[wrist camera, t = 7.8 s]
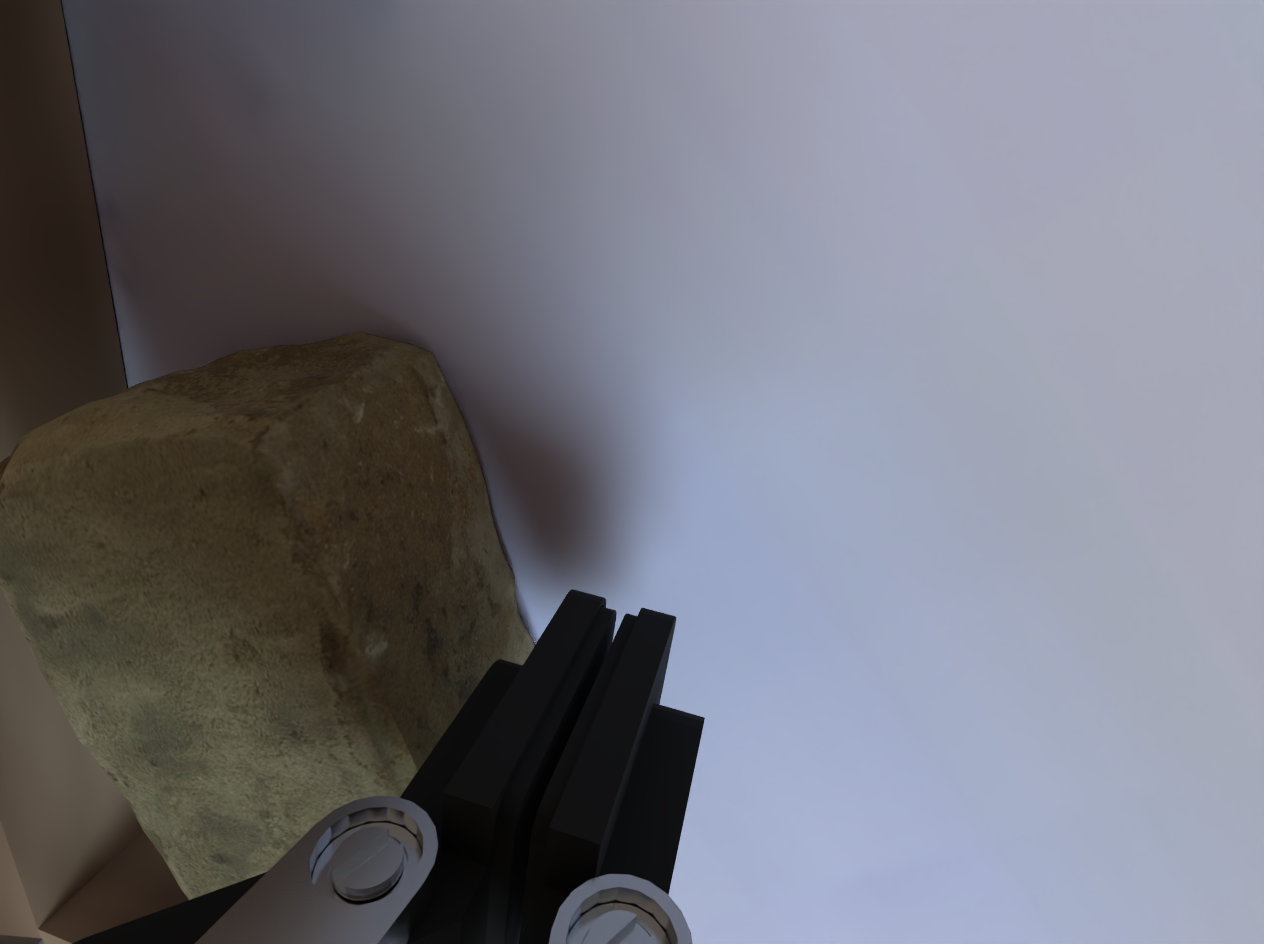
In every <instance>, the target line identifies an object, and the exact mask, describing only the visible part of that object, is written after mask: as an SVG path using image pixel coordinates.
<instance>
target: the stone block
mask: <svg viewBox="0 0 1264 944" xmlns="http://www.w3.org/2000/svg"><path fill="white" fill-rule="evenodd" d="M0 587H1V589H2V591H3V593H4V596H5V598H6V600H7V602H8V604H9V606H10V608H11V610H12V612H13V614H14V617H15V619H16V621H17V623H18V625H19V627H20V629H21V631H22V632H23V634H24V636H25V638H26V639H27V641H28V643H29V645H30V648H31V651H32V654H33V657H34V660H35V662H36V664H37V666H38V667H39V669H40V671H41V672H42V674H43V676H44V678H45V679H46V681H47V683H48V684H49V686H50V688H51V690H52V691H53V693H54V695H55V696H56V698H57V700H58V702H59V703H60V705H61V707H62V709H63V711H64V713H65V715H66V717H67V719H68V720H69V722H70V724H71V726H72V728H73V730H74V732H75V734H76V736H77V737H78V739H79V741H80V742H81V743H82V744H83V745H84V746H85V748H86V749H87V750H88V751H89V752H90V753H91V755H92V756H93V757H94V758H95V759H96V760H97V762H98V763H99V764H100V765H101V766H102V768H103V769H104V770H105V771H106V773H107V774H108V775H109V777H110V778H111V779H112V781H113V782H114V783H115V785H116V786H117V787H118V789H119V790H120V791H121V793H122V794H123V796H124V797H125V798H126V800H127V801H128V803H129V805H130V807H131V809H132V811H133V812H134V814H135V816H136V818H137V820H138V822H139V823H140V825H141V827H142V829H143V831H144V832H145V834H146V835H147V836H148V838H149V839H150V841H151V842H152V843H153V845H154V846H155V848H156V849H157V850H158V852H159V853H160V854H161V856H162V857H163V859H164V860H165V862H166V864H167V866H168V867H169V869H170V871H171V873H172V874H173V876H174V878H175V879H176V881H177V883H178V885H179V886H180V888H181V889H182V891H183V892H184V893H185V895H186V896H187V898H188V899H189V900H191V899H193V898H196V897H199V896H202V895H204V894H207V893H210V892H213V891H215V890H218V889H221V888H224V887H227V886H229V885H232V884H235V883H238V882H240V881H243V880H246V879H249V878H251V877H254V876H257V875H260V874H262V873H265V872H268V871H269V870H270V869H271V868H272V867H273V866H274V865H275V864H276V863H277V862H278V861H279V860H280V859H281V858H282V857H283V856H284V855H285V854H286V853H287V852H288V851H289V850H290V849H291V848H292V847H293V846H294V845H295V844H296V843H297V842H298V841H299V840H300V839H301V838H302V837H303V836H304V835H305V834H306V833H307V832H308V831H309V830H310V829H311V828H312V827H313V826H314V825H315V824H316V823H318V822H319V821H320V820H322V819H323V818H324V817H325V816H327V815H328V814H329V813H331V812H332V811H333V810H335V809H337V808H339V807H341V806H343V805H345V804H347V803H350V802H352V801H354V800H358V799H362V798H367V797H372V796H396V797H399V798H400V796H401V795H402V793H403V792H404V790H405V789H406V788H407V786H408V785H409V783H410V782H411V780H412V779H413V777H414V776H415V775H416V773H417V772H418V770H419V769H420V767H421V766H422V765H423V763H424V762H425V760H426V759H427V757H428V756H429V754H430V753H431V752H432V750H433V749H434V747H435V746H436V744H437V743H438V741H439V740H440V739H441V737H442V736H443V734H444V733H445V731H446V730H447V728H448V727H449V726H450V724H451V723H452V721H453V720H454V718H455V717H456V715H457V714H458V713H459V711H460V710H461V708H462V707H463V705H464V704H465V703H466V701H467V700H468V698H469V697H470V695H471V694H472V692H473V691H474V690H475V688H476V687H477V685H478V684H479V682H480V681H481V679H482V678H483V677H484V675H485V674H486V672H487V671H488V669H489V668H490V667H491V666H492V664H493V663H494V662H495V661H497V660H499V659H502V660H505V661H509V662H512V663H516V664H519V665H523V664H524V663H525V661H526V659H527V658H528V656H529V655H530V653H531V651H532V650H533V648H534V647H535V645H534V643H533V640H532V638H531V636H530V635H529V633H528V631H527V629H526V627H525V625H524V624H523V622H522V620H521V617H520V615H519V613H518V610H517V600H516V585H515V577H514V574H513V572H512V570H511V568H510V566H509V565H508V563H507V561H506V559H505V557H504V555H503V552H502V550H501V546H500V543H499V540H498V536H497V533H496V529H495V526H494V522H493V519H492V515H491V509H490V504H489V499H488V494H487V489H486V484H485V481H484V478H483V474H482V471H481V468H480V465H479V462H478V458H477V455H476V452H475V449H474V446H473V444H472V441H471V439H470V436H469V433H468V431H467V428H466V426H465V423H464V420H463V418H462V415H461V413H460V411H459V409H458V407H457V404H456V402H455V400H454V398H453V396H452V394H451V392H450V390H449V387H448V385H447V383H446V381H445V379H444V377H443V375H442V372H441V370H440V368H439V366H438V364H437V362H436V359H435V357H434V355H433V353H432V352H429V351H427V350H424V349H422V348H419V347H416V346H414V345H411V344H409V343H404V342H400V341H395V340H391V339H386V338H382V337H377V336H373V335H369V334H365V333H361V332H356V333H351V334H347V335H343V336H339V337H336V338H332V339H329V340H325V341H321V342H316V343H310V344H304V345H280V346H276V347H271V348H262V349H249V350H245V351H241V352H237V353H234V354H231V355H229V356H226V357H223V358H220V359H218V360H216V361H214V362H212V363H210V364H208V365H206V366H204V367H201V368H199V369H195V370H185V371H177V372H174V373H171V374H169V375H166V376H163V377H160V378H157V379H154V380H150V381H147V382H143V383H140V384H137V385H135V386H132V387H130V388H127V389H125V390H123V391H122V392H120V393H119V394H117V395H115V396H112V397H108V398H104V399H101V400H97V401H93V402H89V403H87V404H85V405H83V406H81V407H79V408H76V409H74V410H72V411H70V412H68V413H66V414H64V415H62V416H60V417H58V418H56V419H54V420H52V421H50V422H48V423H46V424H44V425H42V426H39V427H37V428H35V429H34V430H32V431H31V432H29V433H28V434H26V435H24V436H23V437H21V438H20V439H19V440H18V442H17V444H16V446H15V448H14V449H13V451H12V453H11V455H10V456H8V457H7V458H6V459H4V460H3V461H2V462H0Z"/></svg>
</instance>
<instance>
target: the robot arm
mask: <svg viewBox="0 0 1264 944" xmlns="http://www.w3.org/2000/svg"><path fill="white" fill-rule="evenodd" d="M615 621H616V611H615V610H612V609H608V608H606V599H605V598H603V597H600V596H596V595H592V594H588V593H584V592H581V591H577V590H573V589H572V590H570V591H569V592H568V594H567V595H566V597H565V599H564V600H563V602H562V603H561V605H560V607H559V608H558V610H557V611H556V613H555V615H554V616H553V618H552V619H551V621H550V623H549V624H548V626H547V627H546V629H545V631H544V632H543V634H542V635H541V637H540V639H539V640H538V642H537V643H536V645H535V647H534V648H533V650H532V651H531V653H530V655H529V656H528V658H527V659H526V661H525V663H524V664H523V665H519V664H516V663H512V662H509V661H505V660H502V659H499V660H497V661H495V662H494V663H493V664H492V666H491V667H490V668H489V669H488V671H487V672H486V674H485V675H484V677H483V678H482V679H481V681H480V682H479V684H478V685H477V687H476V688H475V690H474V691H473V692H472V694H471V695H470V697H469V698H468V700H467V701H466V703H465V704H464V705H463V707H462V708H461V710H460V711H459V713H458V714H457V715H456V717H455V718H454V720H453V721H452V723H451V724H450V726H449V727H448V728H447V730H446V731H445V733H444V734H443V736H442V737H441V739H440V740H439V741H438V743H437V744H436V746H435V747H434V749H433V750H432V752H431V753H430V754H429V756H428V757H427V759H426V760H425V762H424V763H423V765H422V766H421V767H420V769H419V770H418V772H417V773H416V775H415V776H414V777H413V779H412V780H411V782H410V783H409V785H408V786H407V788H406V789H405V790H404V792H403V793H402V795H401V796H400V798H399V797H396V796H372V797H367V798H362V799H358V800H354V801H352V802H350V803H347V804H345V805H343V806H341V807H339V808H337V809H335V810H333V811H332V812H331V813H329V814H328V815H327V816H325V817H324V818H323V819H322V820H320V821H319V822H318V823H316V824H315V825H314V826H313V827H312V828H311V829H310V830H309V831H308V832H307V833H306V834H305V835H304V836H303V837H302V838H301V839H300V840H299V841H298V842H297V843H296V844H295V845H294V846H293V847H292V848H291V849H290V850H289V851H288V852H287V853H286V854H285V855H284V856H283V857H282V858H281V859H280V860H279V861H278V862H277V863H276V864H275V865H274V866H273V867H272V868H271V869H270V870H269V871H268V872H265V873H262V874H260V875H257V876H254V877H251V878H249V879H246V880H243V881H240V882H238V883H235V884H232V885H229V886H227V887H224V888H221V889H218V890H215V891H213V892H210V893H207V894H204V895H202V896H199V897H196V898H193V899H191V900H188V901H185V902H182V903H179V904H177V905H174V906H171V907H168V908H166V909H163V910H160V911H157V912H155V913H152V914H149V915H146V916H144V917H141V918H138V919H135V920H132V921H130V922H127V923H124V924H121V925H119V926H116V927H113V928H110V929H108V930H105V931H102V932H99V933H96V934H94V935H91V936H88V937H85V938H83V939H81V940H79V941H77V942H74V943H72V944H692V937H691V932H690V929H689V927H688V925H687V923H686V920H685V918H684V916H683V914H682V911H681V910H680V909H679V908H678V906H677V905H676V904H675V903H674V901H673V900H672V899H671V898H670V897H669V895H668V894H669V889H670V884H671V879H672V874H673V870H674V865H675V860H676V855H677V850H678V845H679V841H680V836H681V831H682V826H683V821H684V816H685V811H686V807H687V802H688V797H689V792H690V787H691V782H692V778H693V773H694V768H695V763H696V758H697V753H698V748H699V744H700V739H701V734H702V729H703V724H704V719H705V718H704V717H700V716H697V715H693V714H690V713H686V712H683V711H679V710H676V709H672V708H669V707H666V706H662V705H659V704H660V699H661V694H662V689H663V684H664V679H665V674H666V669H667V664H668V659H669V653H670V648H671V643H672V638H673V633H674V628H675V623H676V617H675V616H672V615H668V614H664V613H660V612H656V611H653V610H649V609H645V608H641V610H640V612H639V614H638V616H634V615H630V614H625V616H624V618H623V620H622V623H621V625H620V627H619V629H618V631H617V634H616V636H615V638H614V640H613V634H614V628H615ZM612 641H613V642H612ZM0 944H44V941H43V938H31V937H20V936H8V935H0Z"/></svg>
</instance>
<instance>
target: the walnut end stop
mask: <svg viewBox="0 0 1264 944" xmlns="http://www.w3.org/2000/svg"><path fill="white" fill-rule="evenodd" d="M125 389H127V384H126V378H125V373H124V367H123V361H122V355H121V349H120V344H119V338H118V332H117V326H116V320H115V314H114V309H113V303H112V297H111V291H110V285H109V280H108V274H107V268H106V262H105V256H104V250H103V245H102V239H101V233H100V227H99V221H98V216H97V210H96V204H95V198H94V192H93V187H92V181H91V175H90V169H89V163H88V157H87V152H86V146H85V140H84V134H83V128H82V123H81V117H80V111H79V105H78V99H77V93H76V88H75V82H74V76H73V70H72V64H71V59H70V53H69V47H68V41H67V35H66V30H65V24H64V18H63V12H62V6H61V0H0V462H2V461H3V460H4V459H6V458H7V457H8V456H10V455H11V453H12V451H13V449H14V448H15V446H16V444H17V442H18V440H19V439H20V438H21V437H23V436H24V435H26V434H28V433H29V432H31V431H32V430H34V429H35V428H37V427H39V426H42V425H44V424H46V423H48V422H50V421H52V420H54V419H56V418H58V417H60V416H62V415H64V414H66V413H68V412H70V411H72V410H74V409H76V408H79V407H81V406H83V405H85V404H87V403H89V402H93V401H97V400H101V399H104V398H108V397H112V396H115V395H117V394H119V393H120V392H122V391H123V390H125ZM188 900H189V899H188V898H187V896H186V895H185V893H184V892H183V891H182V889H181V888H180V886H179V885H178V883H177V881H176V879H175V878H174V876H173V874H172V873H171V871H170V869H169V867H168V866H167V864H166V862H165V860H164V859H163V857H162V856H161V854H160V853H159V852H158V850H157V849H156V848H155V846H154V845H153V843H152V842H151V841H150V839H149V838H148V836H147V835H146V834H145V832H144V831H143V829H142V827H141V825H140V823H139V822H138V820H137V818H136V816H135V814H134V812H133V811H132V809H131V807H130V805H129V803H128V801H127V800H126V798H125V797H124V796H123V794H122V793H121V791H120V790H119V789H118V787H117V786H116V785H115V783H114V782H113V781H112V779H111V778H110V777H109V775H108V774H107V773H106V771H105V770H104V769H103V768H102V766H101V765H100V764H99V763H98V762H97V760H96V759H95V758H94V757H93V756H92V755H91V753H90V752H89V751H88V750H87V749H86V748H85V746H84V745H83V744H82V743H81V742H80V741H79V739H78V737H77V736H76V734H75V732H74V730H73V728H72V726H71V724H70V722H69V720H68V719H67V717H66V715H65V713H64V711H63V709H62V707H61V705H60V703H59V702H58V700H57V698H56V696H55V695H54V693H53V691H52V690H51V688H50V686H49V684H48V683H47V681H46V679H45V678H44V676H43V674H42V672H41V671H40V669H39V667H38V666H37V664H36V662H35V660H34V657H33V654H32V651H31V648H30V645H29V643H28V641H27V639H26V638H25V636H24V634H23V632H22V631H21V629H20V627H19V625H18V623H17V621H16V619H15V617H14V614H13V612H12V610H11V608H10V606H9V604H8V602H7V600H6V598H5V596H4V593H3V591H2V589H1V587H0V935H8V936H20V937H31V938H43V941H44V944H72V943H74V942H77V941H79V940H81V939H83V938H85V937H88V936H91V935H94V934H96V933H99V932H102V931H105V930H108V929H110V928H113V927H116V926H119V925H121V924H124V923H127V922H130V921H132V920H135V919H138V918H141V917H144V916H146V915H149V914H152V913H155V912H157V911H160V910H163V909H166V908H168V907H171V906H174V905H177V904H179V903H182V902H185V901H188Z"/></svg>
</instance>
